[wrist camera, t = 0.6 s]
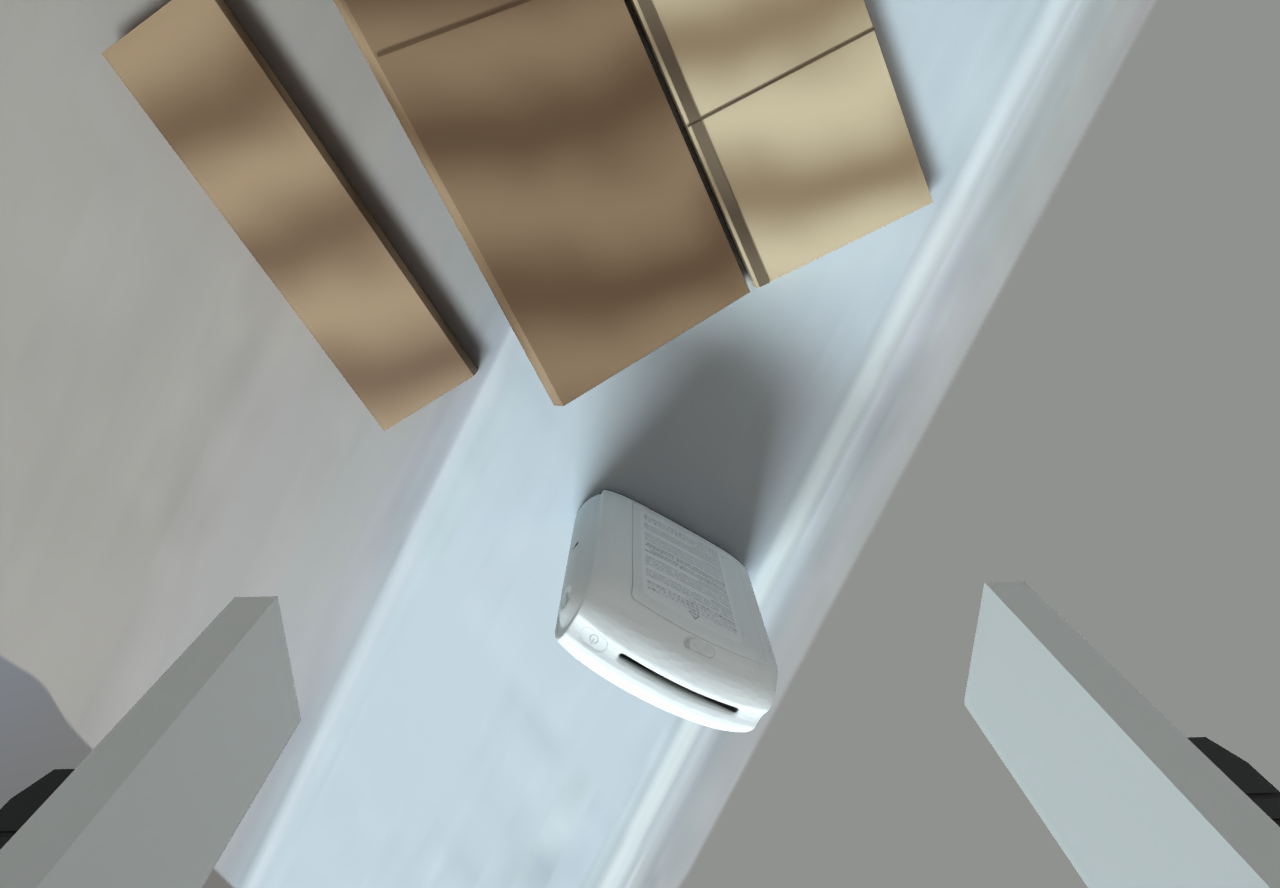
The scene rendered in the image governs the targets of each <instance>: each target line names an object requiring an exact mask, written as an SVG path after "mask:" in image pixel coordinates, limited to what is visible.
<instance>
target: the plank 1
mask: <svg viewBox="0 0 1280 888" xmlns="http://www.w3.org/2000/svg"><path fill="white" fill-rule="evenodd" d="M102 55H103V56H104V57H105V59H106V60H107V61H108V63H109V64H110V65H111V67H112V68H113V69H114V71H115V72H116V73H117V75H118V76H119V77H120V79H121V80H122V81H123V83H124V84H125V85H126V87H127V88H128V89H129V91H130V92H131V93H132V95H133V96H134V97H135V99H136V100H137V101H138V103H139V104H140V105H141V107H142V108H143V109H144V111H145V112H146V113H147V115H148V116H149V117H150V119H151V120H152V121H153V123H154V124H155V125H156V127H157V128H158V129H159V131H160V132H161V133H162V135H163V136H164V137H165V139H166V140H167V141H168V143H169V144H170V145H171V147H172V148H173V149H174V151H175V152H176V153H177V155H178V156H179V157H180V159H181V160H182V161H183V163H184V164H185V165H186V167H187V168H188V170H189V171H190V172H191V174H192V175H193V176H194V178H195V179H196V180H197V182H198V183H199V184H200V186H201V187H202V188H203V190H204V191H205V192H206V194H207V195H208V196H209V198H210V199H211V200H212V202H213V203H214V204H215V206H216V207H217V208H218V210H219V211H220V212H221V214H222V215H223V216H224V218H225V219H226V220H227V222H228V223H229V224H230V226H231V227H232V228H233V230H234V231H235V232H236V234H237V235H238V236H239V238H240V239H241V240H242V242H243V243H244V244H245V246H246V247H247V248H248V250H249V251H250V252H251V254H252V255H253V256H254V258H255V259H256V260H257V262H258V263H259V264H260V266H261V267H262V268H263V270H264V271H265V272H266V274H267V275H268V276H269V278H270V279H271V280H272V282H273V283H274V284H275V286H276V287H277V288H278V290H279V291H280V292H281V294H282V295H283V296H284V298H285V299H286V300H287V302H288V303H289V304H290V306H291V307H292V308H293V310H294V311H295V312H296V314H297V315H298V316H299V318H300V319H301V320H302V322H303V323H304V325H305V326H306V327H307V329H308V330H309V331H310V333H311V334H312V335H313V337H314V338H315V339H316V341H317V342H318V343H319V345H320V346H321V347H322V349H323V350H324V351H325V353H326V354H327V355H328V357H329V358H330V359H331V361H332V362H333V363H334V365H335V366H336V367H337V369H338V370H339V371H340V373H341V374H342V375H343V377H344V378H345V379H346V381H347V382H348V383H349V385H350V386H351V387H352V389H353V390H354V391H355V393H356V394H357V395H358V397H359V398H360V399H361V401H362V402H363V403H364V405H365V406H366V407H367V409H368V410H369V411H370V413H371V414H372V415H373V417H374V418H375V419H376V421H377V422H378V423H379V425H380V426H381V427H382V429H383V430H384V431H385V430H386V429H388V428H390V427H391V426H393V425H395V424H396V423H398V422H399V421H401V420H403V419H404V418H406V417H407V416H409V415H411V414H412V413H414V412H416V411H417V410H419V409H420V408H422V407H424V406H425V405H427V404H429V403H430V402H432V401H433V400H435V399H437V398H438V397H440V396H442V395H443V394H445V393H446V392H448V391H450V390H451V389H453V388H455V387H456V386H458V385H459V384H461V383H463V382H464V381H466V380H468V379H469V378H471V377H472V376H474V375H475V374H476V372H477V371H478V370H477V368H476V367H475V366H474V364H473V363H472V361H471V360H470V358H469V357H468V355H467V354H466V352H465V351H464V349H463V348H462V347H461V345H460V344H459V342H458V341H457V339H456V338H455V336H454V335H453V333H452V332H451V331H450V329H449V328H448V326H447V325H446V323H445V322H444V320H443V319H442V317H441V316H440V315H439V313H438V312H437V310H436V309H435V307H434V306H433V304H432V303H431V301H430V300H429V298H428V297H427V296H426V294H425V293H424V291H423V290H422V288H421V287H420V285H419V284H418V282H417V281H416V280H415V278H414V277H413V275H412V274H411V272H410V271H409V269H408V268H407V266H406V265H405V263H404V262H403V261H402V259H401V258H400V256H399V255H398V253H397V252H396V250H395V249H394V247H393V246H392V245H391V243H390V242H389V240H388V239H387V237H386V236H385V234H384V233H383V231H382V230H381V229H380V227H379V226H378V224H377V223H376V221H375V220H374V218H373V217H372V215H371V214H370V212H369V211H368V210H367V208H366V207H365V205H364V204H363V202H362V201H361V199H360V198H359V196H358V195H357V194H356V192H355V191H354V189H353V188H352V186H351V185H350V183H349V182H348V180H347V179H346V177H345V176H344V175H343V173H342V172H341V170H340V169H339V167H338V166H337V164H336V163H335V161H334V160H333V159H332V157H331V156H330V154H329V153H328V151H327V150H326V148H325V147H324V145H323V144H322V142H321V141H320V140H319V138H318V137H317V135H316V134H315V132H314V131H313V129H312V128H311V126H310V125H309V124H308V122H307V121H306V119H305V118H304V116H303V115H302V113H301V112H300V110H299V109H298V108H297V106H296V105H295V103H294V102H293V100H292V99H291V97H290V96H289V94H288V93H287V91H286V90H285V89H284V87H283V86H282V84H281V83H280V81H279V80H278V78H277V77H276V75H275V74H274V73H273V71H272V70H271V68H270V67H269V65H268V64H267V62H266V61H265V59H264V58H263V56H262V55H261V54H260V52H259V51H258V49H257V48H256V46H255V45H254V43H253V42H252V40H251V39H250V38H249V36H248V35H247V33H246V32H245V30H244V29H243V27H242V26H241V24H240V23H239V22H238V20H237V19H236V17H235V16H234V14H233V13H232V11H231V10H230V8H229V7H228V5H227V4H226V3H225V1H224V0H171V1H170V2H169V3H167V4H166V5H165V6H163V7H162V8H161V9H159V10H158V11H157V12H155V13H154V14H153V15H151V16H150V17H149V18H147V19H146V20H145V21H144V22H142V23H141V24H140V25H138V26H137V27H136V28H134V29H133V30H132V31H130V32H129V33H128V34H126V35H125V36H124V37H122V38H121V39H120V40H118V41H117V42H116V43H114V44H113V45H112V46H110V47H109V48H108V49H107V50H105V51H104V52H103V53H102Z"/></svg>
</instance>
